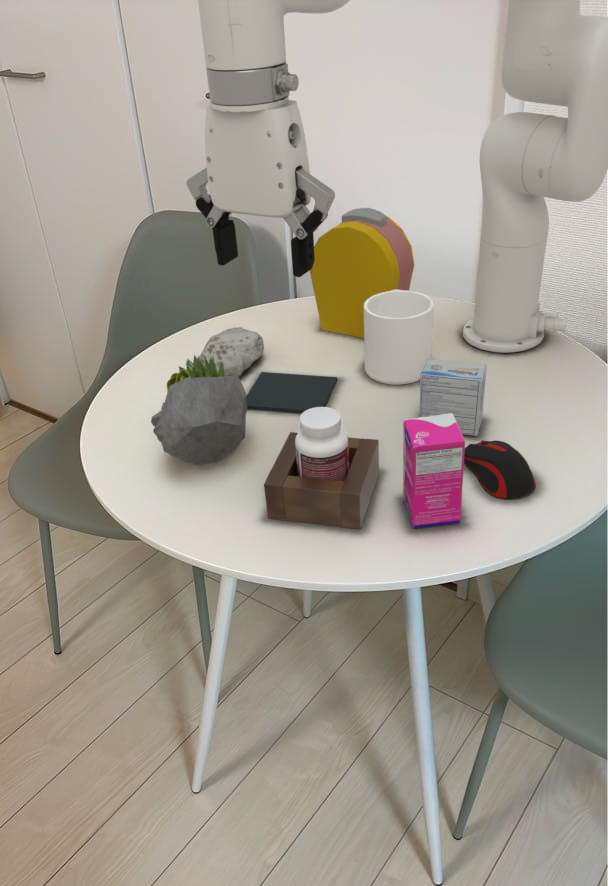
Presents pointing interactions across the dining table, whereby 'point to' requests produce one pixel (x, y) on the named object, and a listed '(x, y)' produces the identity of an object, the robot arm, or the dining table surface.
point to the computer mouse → (500, 469)
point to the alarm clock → (358, 268)
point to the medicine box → (454, 392)
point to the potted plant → (202, 413)
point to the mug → (397, 336)
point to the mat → (290, 392)
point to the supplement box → (433, 470)
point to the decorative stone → (234, 350)
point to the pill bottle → (322, 445)
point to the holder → (323, 488)
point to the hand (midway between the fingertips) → (264, 266)
